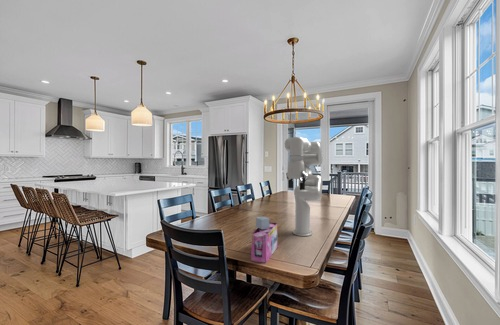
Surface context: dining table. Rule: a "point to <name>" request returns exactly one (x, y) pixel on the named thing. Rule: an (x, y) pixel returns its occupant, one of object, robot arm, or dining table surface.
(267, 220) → the slate cube
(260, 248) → the gum box
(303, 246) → the dining table surface
